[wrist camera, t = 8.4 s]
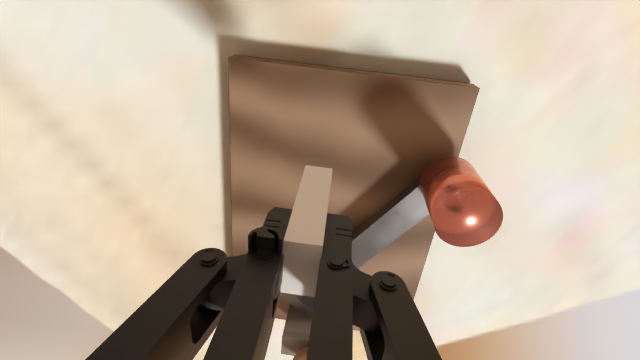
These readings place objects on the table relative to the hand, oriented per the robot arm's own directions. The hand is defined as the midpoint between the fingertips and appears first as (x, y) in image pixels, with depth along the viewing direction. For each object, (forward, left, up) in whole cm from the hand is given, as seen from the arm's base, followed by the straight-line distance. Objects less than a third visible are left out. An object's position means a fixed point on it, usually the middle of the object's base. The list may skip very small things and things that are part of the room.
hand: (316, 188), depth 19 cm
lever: (+8, +5, -8) cm, 13 cm away
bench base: (+8, +1, -10) cm, 13 cm away
